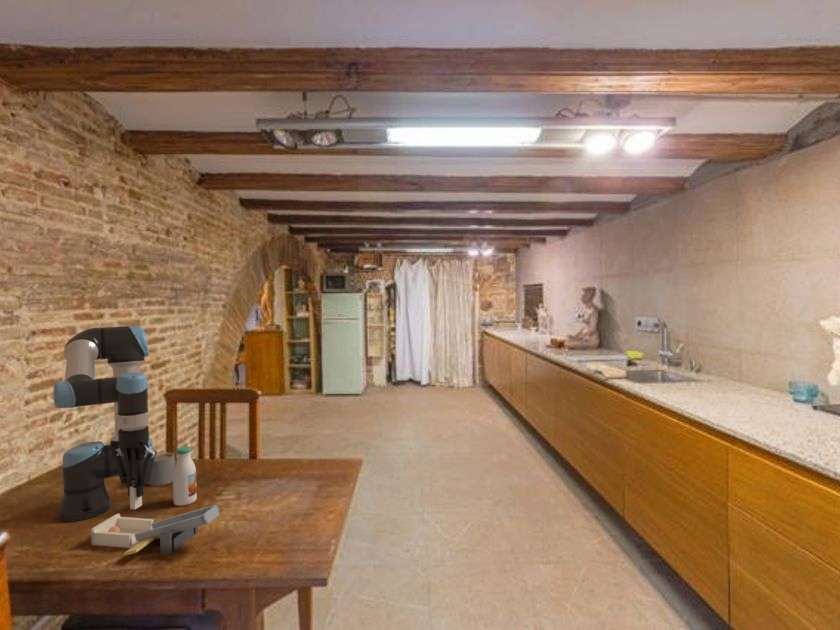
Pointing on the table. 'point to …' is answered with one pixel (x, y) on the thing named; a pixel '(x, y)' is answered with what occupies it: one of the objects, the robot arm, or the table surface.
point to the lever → (175, 525)
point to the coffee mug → (162, 469)
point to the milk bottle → (184, 478)
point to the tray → (125, 535)
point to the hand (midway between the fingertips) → (136, 507)
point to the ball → (114, 529)
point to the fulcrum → (174, 540)
